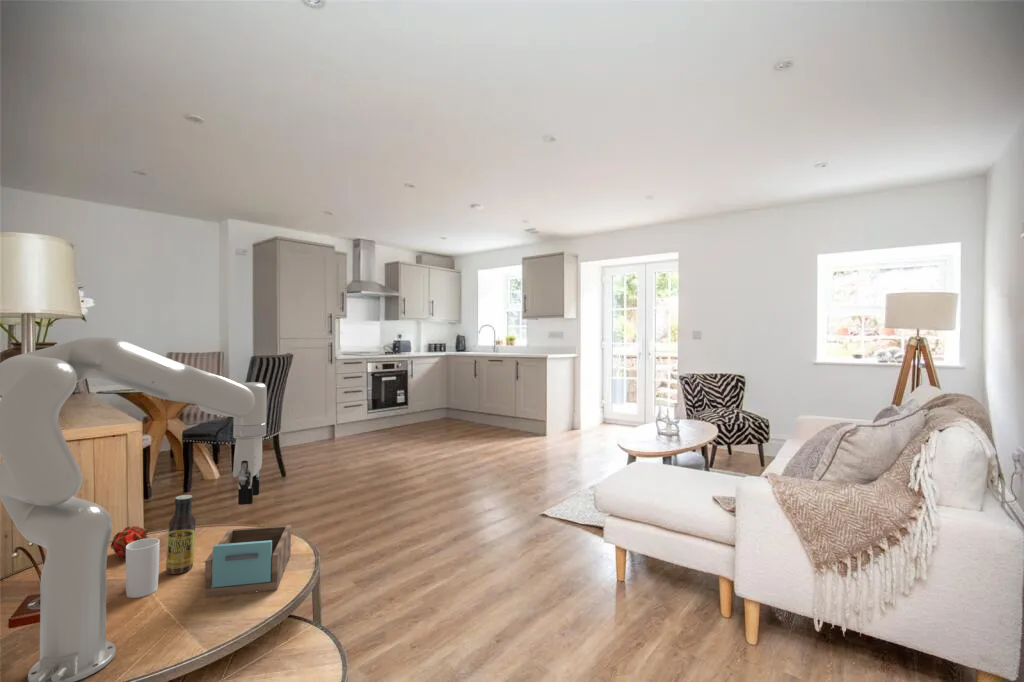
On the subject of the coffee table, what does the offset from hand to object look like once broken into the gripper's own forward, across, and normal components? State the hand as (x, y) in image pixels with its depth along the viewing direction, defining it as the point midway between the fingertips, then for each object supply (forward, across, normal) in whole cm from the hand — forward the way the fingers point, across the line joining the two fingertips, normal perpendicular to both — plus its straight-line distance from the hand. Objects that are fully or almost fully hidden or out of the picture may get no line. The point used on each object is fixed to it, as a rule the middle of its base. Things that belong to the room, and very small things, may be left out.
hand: (249, 498), depth 129 cm
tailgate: (+19, +6, 0) cm, 20 cm away
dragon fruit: (+22, -24, -36) cm, 49 cm away
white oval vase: (+22, -2, -24) cm, 33 cm away
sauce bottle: (+22, -11, -19) cm, 31 cm away
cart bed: (+22, -4, 0) cm, 22 cm away
